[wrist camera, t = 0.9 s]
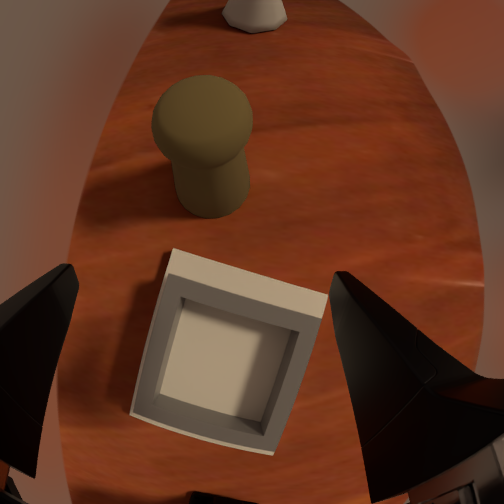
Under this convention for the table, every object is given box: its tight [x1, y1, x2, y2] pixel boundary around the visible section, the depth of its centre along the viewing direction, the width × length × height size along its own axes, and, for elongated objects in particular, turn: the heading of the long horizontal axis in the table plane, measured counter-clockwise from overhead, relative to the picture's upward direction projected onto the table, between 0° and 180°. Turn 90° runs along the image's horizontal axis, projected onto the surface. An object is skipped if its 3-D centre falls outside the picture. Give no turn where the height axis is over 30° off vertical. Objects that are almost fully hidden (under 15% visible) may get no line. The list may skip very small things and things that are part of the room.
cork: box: [152, 75, 253, 218], centre depth 18 cm, size 6×6×11 cm
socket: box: [130, 248, 328, 455], centre depth 20 cm, size 14×12×4 cm
